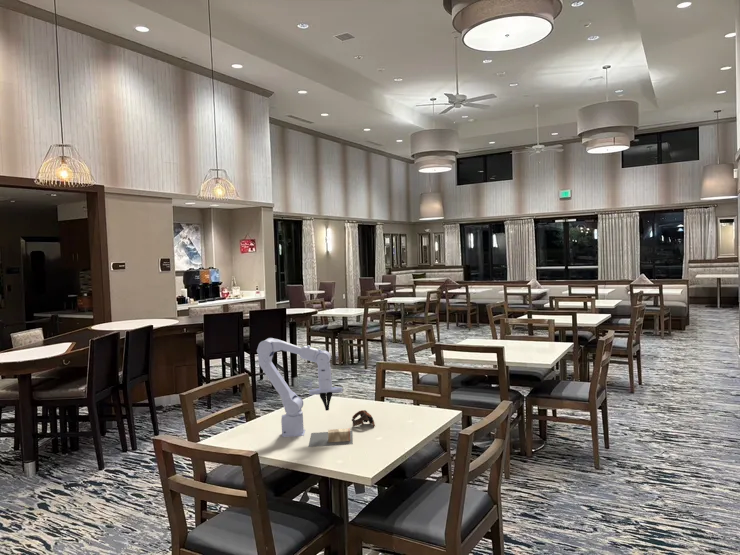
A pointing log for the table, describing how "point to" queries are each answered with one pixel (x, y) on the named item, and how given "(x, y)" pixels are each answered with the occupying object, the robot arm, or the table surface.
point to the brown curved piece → (362, 418)
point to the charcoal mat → (326, 440)
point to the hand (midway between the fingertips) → (327, 409)
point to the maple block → (339, 435)
